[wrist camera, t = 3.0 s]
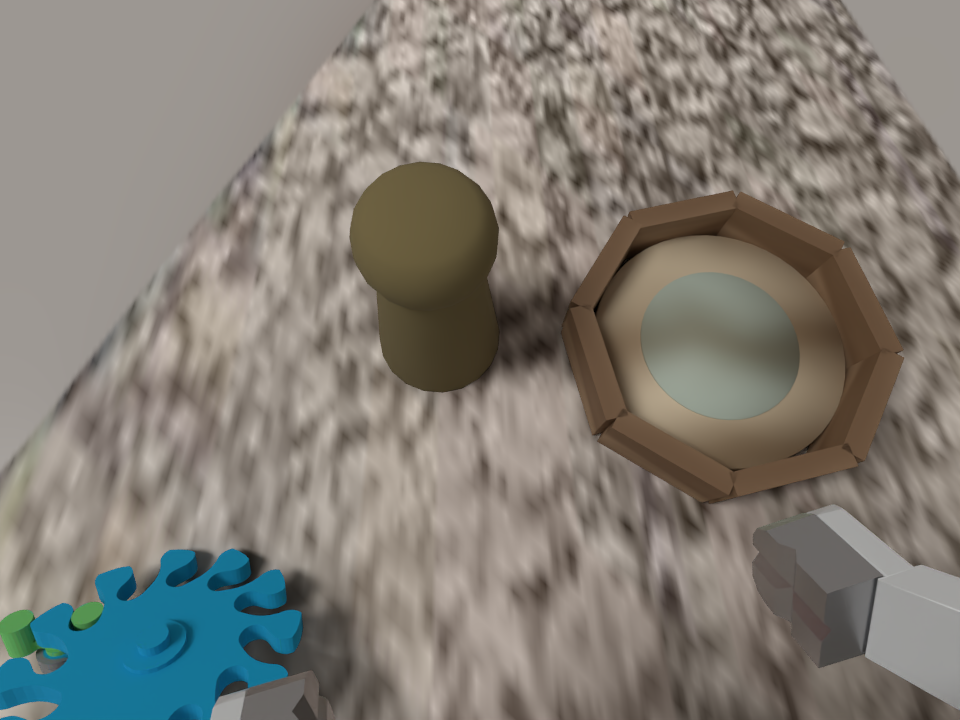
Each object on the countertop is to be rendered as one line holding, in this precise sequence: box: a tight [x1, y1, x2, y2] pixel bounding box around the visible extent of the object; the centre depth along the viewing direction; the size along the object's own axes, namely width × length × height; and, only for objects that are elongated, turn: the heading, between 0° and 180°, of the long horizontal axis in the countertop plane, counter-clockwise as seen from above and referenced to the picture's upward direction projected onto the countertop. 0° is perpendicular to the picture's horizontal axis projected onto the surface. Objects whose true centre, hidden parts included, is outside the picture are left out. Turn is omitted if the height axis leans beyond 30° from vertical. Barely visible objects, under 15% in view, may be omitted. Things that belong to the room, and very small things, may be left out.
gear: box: [0, 549, 303, 720], centre depth 22 cm, size 11×6×10 cm
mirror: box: [561, 191, 904, 504], centre depth 27 cm, size 14×14×3 cm
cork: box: [350, 162, 499, 392], centre depth 24 cm, size 6×6×11 cm
